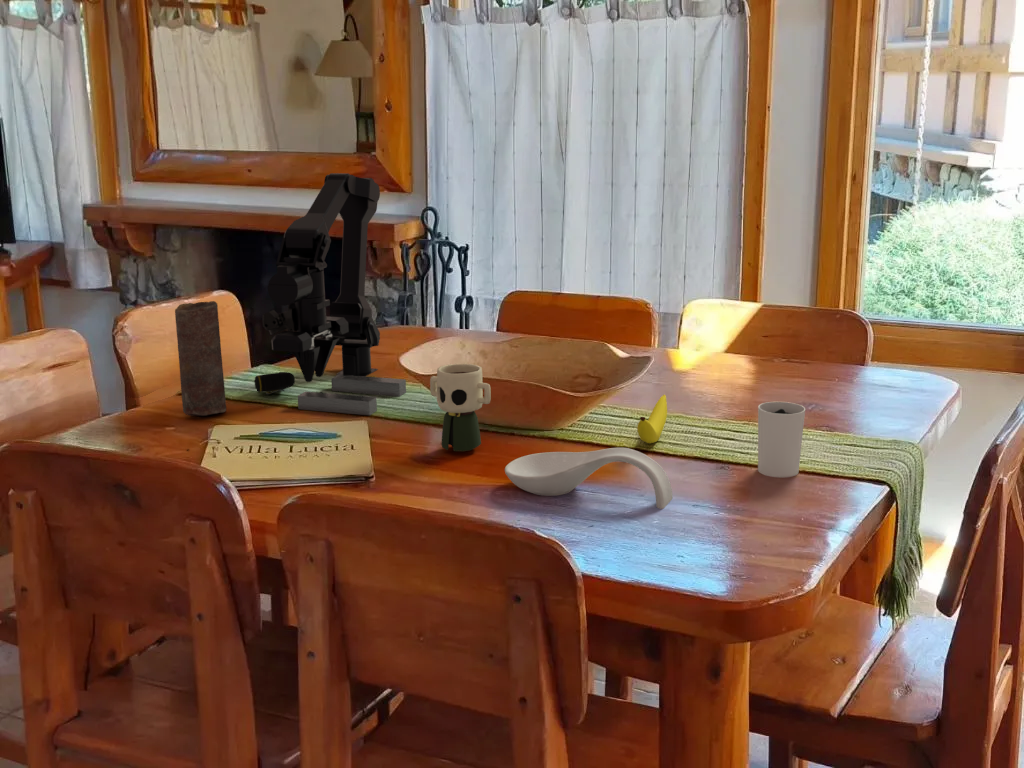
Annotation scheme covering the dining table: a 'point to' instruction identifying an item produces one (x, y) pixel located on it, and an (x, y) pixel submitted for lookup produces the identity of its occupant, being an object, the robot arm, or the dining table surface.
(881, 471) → the dining table surface
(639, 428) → the banana
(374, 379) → the guide channel
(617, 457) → the spoon rest
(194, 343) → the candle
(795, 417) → the light grey cup
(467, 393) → the character mug
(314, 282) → the robot arm
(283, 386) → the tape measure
